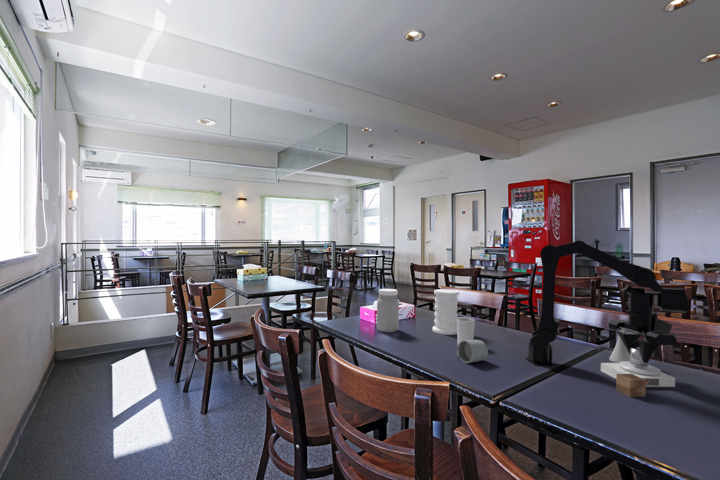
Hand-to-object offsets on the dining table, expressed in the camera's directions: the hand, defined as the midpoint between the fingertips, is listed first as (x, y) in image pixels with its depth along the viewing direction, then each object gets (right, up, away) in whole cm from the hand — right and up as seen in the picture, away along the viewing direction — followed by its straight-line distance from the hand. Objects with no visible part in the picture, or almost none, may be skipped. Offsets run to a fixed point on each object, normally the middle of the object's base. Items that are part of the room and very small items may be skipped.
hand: (639, 360), depth 107 cm
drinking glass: (-43, -5, +31) cm, 54 cm away
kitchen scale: (-1, -6, 0) cm, 6 cm away
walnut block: (-11, -6, -11) cm, 16 cm away
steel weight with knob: (0, -1, 0) cm, 1 cm away
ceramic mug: (-47, -5, +14) cm, 49 cm away
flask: (+5, -6, +14) cm, 16 cm away
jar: (-72, -4, +51) cm, 89 cm away
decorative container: (-46, -5, +51) cm, 69 cm away
